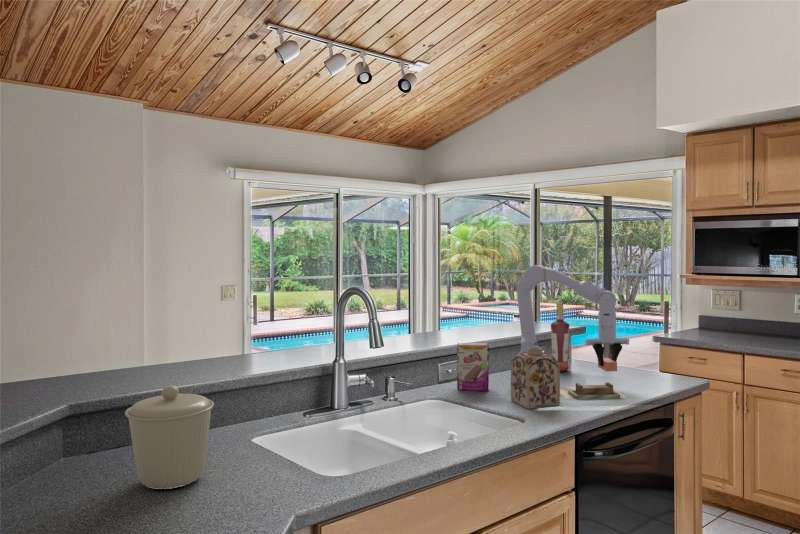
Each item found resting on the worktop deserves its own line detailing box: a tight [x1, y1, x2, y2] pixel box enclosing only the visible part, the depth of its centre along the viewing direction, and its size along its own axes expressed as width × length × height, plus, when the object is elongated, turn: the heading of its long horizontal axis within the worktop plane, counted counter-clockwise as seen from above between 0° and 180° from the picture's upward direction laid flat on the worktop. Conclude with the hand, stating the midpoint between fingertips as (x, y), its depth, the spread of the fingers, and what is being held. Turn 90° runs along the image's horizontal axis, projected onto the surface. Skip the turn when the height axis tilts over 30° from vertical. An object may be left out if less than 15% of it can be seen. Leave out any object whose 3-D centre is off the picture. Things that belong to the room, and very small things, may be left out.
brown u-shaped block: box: [575, 382, 614, 395], centre depth 193 cm, size 11×4×4 cm, turn 92°
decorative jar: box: [510, 346, 561, 410], centre depth 189 cm, size 12×12×18 cm
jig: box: [560, 386, 629, 400], centre depth 198 cm, size 20×16×2 cm
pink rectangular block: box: [597, 357, 618, 372], centre depth 201 cm, size 4×8×3 cm, turn 1°
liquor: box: [550, 301, 570, 373], centre depth 238 cm, size 7×7×28 cm
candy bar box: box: [456, 342, 490, 392], centre depth 208 cm, size 11×5×16 cm, turn 84°
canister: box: [124, 385, 215, 488], centre depth 128 cm, size 18×18×21 cm
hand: (607, 365), depth 201 cm, fingers closed on pink rectangular block, 4 cm apart
